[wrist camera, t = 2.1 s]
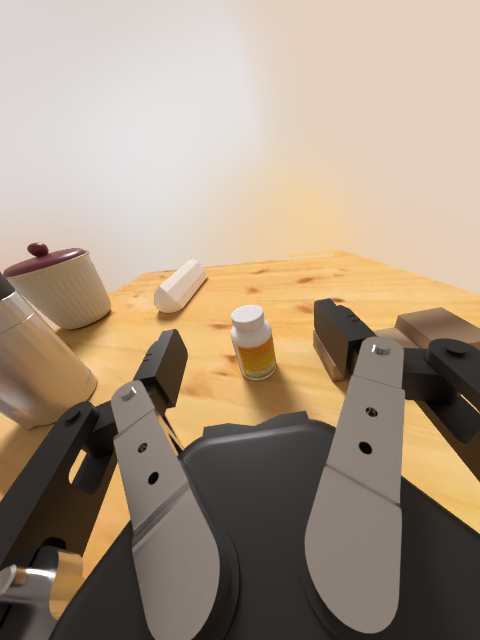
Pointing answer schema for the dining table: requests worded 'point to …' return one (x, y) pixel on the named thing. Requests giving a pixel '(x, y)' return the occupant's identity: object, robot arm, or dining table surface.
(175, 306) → the crystal
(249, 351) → the supplement bottle
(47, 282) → the canister
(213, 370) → the dining table surface
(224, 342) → the dining table surface
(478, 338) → the brown wooden cradle
